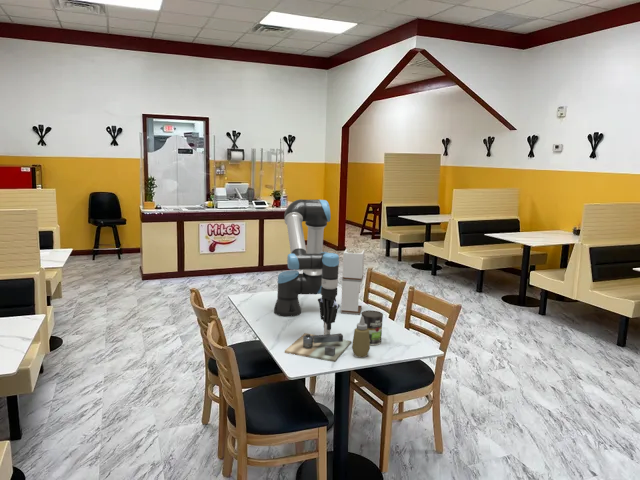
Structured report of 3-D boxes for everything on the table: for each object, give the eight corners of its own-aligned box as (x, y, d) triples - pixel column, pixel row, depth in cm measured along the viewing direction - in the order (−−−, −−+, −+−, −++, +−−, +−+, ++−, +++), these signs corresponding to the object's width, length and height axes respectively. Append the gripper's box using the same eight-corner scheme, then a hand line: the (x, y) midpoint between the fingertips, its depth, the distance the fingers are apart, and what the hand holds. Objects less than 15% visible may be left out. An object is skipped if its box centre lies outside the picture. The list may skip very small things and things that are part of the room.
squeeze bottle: (350, 351, 227) (352, 313, 224) (367, 351, 227) (369, 313, 224) (352, 358, 219) (354, 319, 216) (370, 358, 219) (373, 319, 216)
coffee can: (385, 343, 238) (387, 315, 235) (367, 346, 233) (369, 318, 230) (373, 336, 246) (375, 309, 244) (356, 339, 242) (357, 311, 239)
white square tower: (359, 315, 278) (362, 254, 272) (340, 313, 279) (343, 252, 273) (361, 309, 289) (364, 250, 283) (343, 307, 290) (345, 249, 284)
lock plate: (284, 352, 223) (284, 338, 222) (304, 335, 245) (305, 321, 244) (335, 362, 215) (335, 346, 213) (351, 342, 237) (351, 329, 236)
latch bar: (304, 348, 225) (304, 338, 224) (302, 344, 229) (302, 335, 228) (343, 345, 229) (343, 336, 228) (340, 342, 233) (340, 332, 233)
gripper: (314, 284, 230) (312, 333, 234) (332, 291, 220) (329, 341, 224) (326, 282, 235) (324, 329, 239) (344, 289, 225) (342, 338, 229)
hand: (326, 335), depth 232 cm, fingers closed
